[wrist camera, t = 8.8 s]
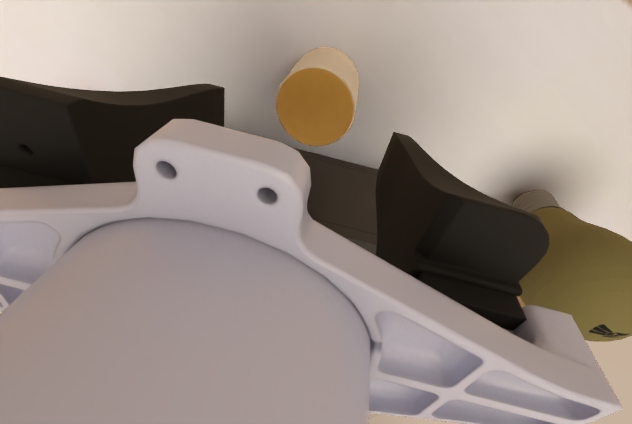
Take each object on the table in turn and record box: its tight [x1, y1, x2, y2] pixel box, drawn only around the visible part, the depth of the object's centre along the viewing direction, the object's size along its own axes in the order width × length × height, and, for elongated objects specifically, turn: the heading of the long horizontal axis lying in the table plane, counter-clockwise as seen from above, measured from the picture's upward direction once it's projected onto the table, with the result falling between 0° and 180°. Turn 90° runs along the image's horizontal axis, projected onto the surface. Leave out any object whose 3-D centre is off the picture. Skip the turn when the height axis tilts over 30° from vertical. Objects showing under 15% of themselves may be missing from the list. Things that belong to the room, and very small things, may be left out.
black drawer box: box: [293, 148, 378, 255], centre depth 22 cm, size 13×12×8 cm
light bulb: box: [512, 190, 632, 341], centre depth 17 cm, size 6×6×10 cm
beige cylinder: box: [276, 47, 359, 146], centre depth 17 cm, size 4×4×4 cm
